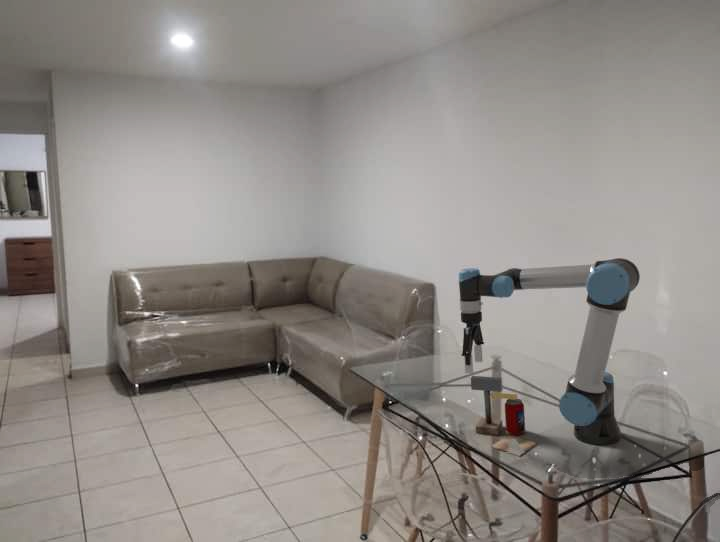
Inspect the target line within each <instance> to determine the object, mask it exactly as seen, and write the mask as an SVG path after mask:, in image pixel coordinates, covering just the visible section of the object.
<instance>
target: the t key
mask: <svg viewBox="0 0 720 542" xmlns="http://www.w3.org/2000/svg"><path fill="white" fill-rule="evenodd" d="M470 386H471V387H470V388H471V391H473V390H474V391H483V398H484V399H483V400H484V415H485V418H486V423H488V424H490V423H492V419H493V417H492V402H491V401H492V400H491V398H493V399H504V400H505V399H506V400H507V399H517V398H518V394H516V393H514V394H513V393H503V392H502V391H503V377H500V376H499V377H497V376H495V377H494V376H481V375H472V376H471V377H470ZM499 392H500V393H499Z"/></svg>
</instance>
